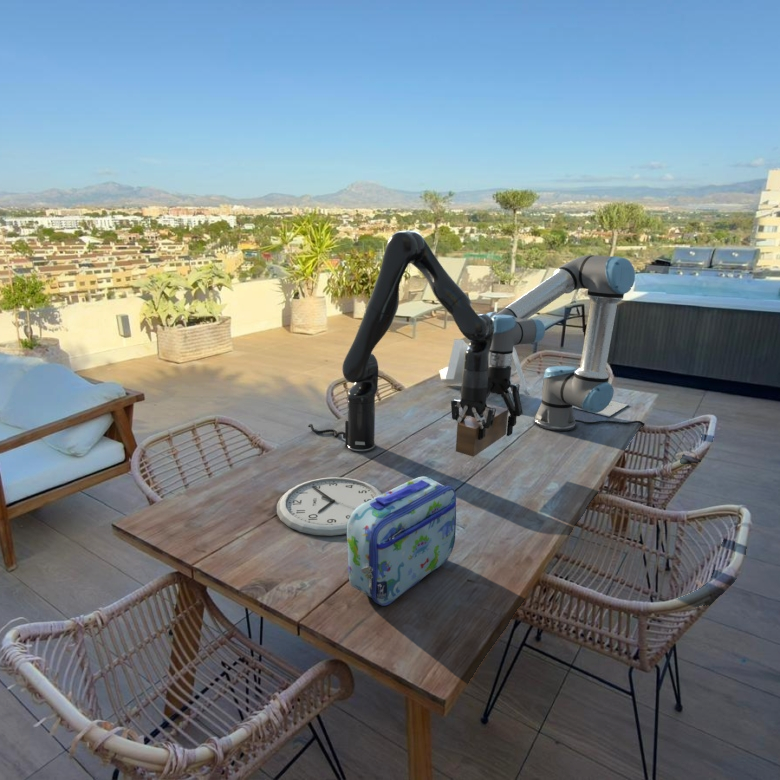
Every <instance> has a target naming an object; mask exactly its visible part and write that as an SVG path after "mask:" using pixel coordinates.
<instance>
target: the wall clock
mask: <svg viewBox="0 0 780 780" xmlns="http://www.w3.org/2000/svg"><path fill="white" fill-rule="evenodd" d="M381 494H384V492H382V491H381V490H380V489H379V488H377V487H376V486H374V485H372V484H371V483H369V482H365V481H362V480H359V479H355V478H349V477H338V476H337V477H335V476H333V477H332V476H331V477H322V478H317V479H312V480H307V481H305V482H302V483H299V484H297V485H295V486H293V487H292V488H290V489H288V490H287V491H286V492H285V493H284V494H283V495H281V496H280V498H279V499H278V502H277V503H276V515H277V517H278V518H279V520H280V521H281V522H282V523H283V524H285V525H286V526H287V527H288V528H290V529H293V530H295V531H297V532H299V533H303V534H308V535H312V536H327V537H328V536H329V537H331V536H332V537H333V536H342V535H347V525H348V521H349V518H350V516H351V514H352V513H353V511H354V510H355V509H356V508H357V507H358V506H360V505H362V504H363V503H365V502H368V501H370V500H372V499H374V498H376V497H378V496H380V495H381Z"/></svg>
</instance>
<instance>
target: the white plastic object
mask: <svg viewBox="0 0 780 780" xmlns="http://www.w3.org/2000/svg"><path fill="white" fill-rule="evenodd" d="M493 312H496V313H497V311H496V310H495V311H493ZM468 346H469V344H468V343H466V342H465V340H464V339H463V338H460V339H458V338H454V340H453V344H452V349H451V353H450V357H449V362H448V366H446V367H444V368H442V369H440V370H439V371H438V372H439V376H440V381H442V383H443V384H444V385H445V386H449V385H458V384H462V374H463V369H464V355H465V351H466V350H467V348H468ZM512 361H513V363H514V366H515V369H516V372H517V376H518V380H519V382H520V386H521V389H522V391H523V393H524V395H525V396H526V397H528V396H531V395H530V390H529V388H528V387H529V386H528V384H527V381H526V378H525V375H524V371H523V369H522V368H523V367H522V366H521V362H520V359H519V355H518V352H517V349H516V347H515V345H513V353H512ZM510 382H511V384H514V381H513V378H512V376H511V377H510ZM508 391H509V393H510V394H511V395H512V391H511V388H510V387H509V388H508Z"/></svg>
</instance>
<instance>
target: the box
mask: <svg viewBox="0 0 780 780" xmlns="http://www.w3.org/2000/svg"><path fill="white" fill-rule="evenodd" d="M488 407H490V408H495V409H496V412H495V416H494V421H493V425H492V426H491V427H489V428H486V433H485V437H484V438H483V439H482V440H478V436H479V428H480V427H479V424H478V422H477V421H476V418H474V417H472V416H468V417H466V418H465V420H464V421H462V422H460V423H459V424H458V423H457V425H456V439H455V452H456V453H459V454H463V455H465V456H470V457H476V456H477V455H479V454H480V453H482V452H483V451H484V450H485V449H487V448H489V447H490V446H492V445H493V444H494V443H496V442H497V441H499V440H501V438H503V437H504V436H507V425H508V416H509V410H508V408H507V407H502V406H497V405H494V404H493V405H492V404H491V405H488ZM484 415H485V420H487V414H486V410H485V411H484Z"/></svg>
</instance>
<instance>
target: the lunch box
mask: <svg viewBox="0 0 780 780" xmlns="http://www.w3.org/2000/svg"><path fill="white" fill-rule="evenodd" d="M456 524H457V494H456V490H455V488H454V487H453V486H451V485H444V484H441V483H440V482H438V481H436V480H434V479H432V478H431V477H428V476H422V475H421V476H419V477H416V478H413V479H411V480H408V481H407V482H404V483H402V484H400V485H398V486H396V487H394V488H392V489H390V490H388V491H386V492H383V494H381V495H380V496H378V497H376V498H374V499H372V500H370V501H368V502H365V503H363V504H362V505H360V506H358V507H357V508H356V509H355V510H354V511H353V513H352V514H351V516H350V518H349V521H348V525H347V534H346V545H347V546H346V548H347V570H348V572H347V573H348V581H349V583H350V585H351V587H353V588H354V589H356V590H358V591H361V592H362V593H364V594H365V595H366V596H368V597H369V598H371V599H372V601H373V602H374V603H375V604H378V605H379V606H383V607H386V606H388V605H390V604H392V603H394V601H396V600H397V599H398V598H399V597H400V596H402V595H403V594H404V593H406V592H407V591H408V590H410V589H411V588H413V587H414V586H415V585H417V584H418V583H419V582H421V580H422V579H424V577H426V576H427V575H430V573H432V572H434V571H435V570H436V569H438V568H440V567H441V566H442V565H444V563H446V562H447V561H448V559H449V558H450V556H451V554H452V552H453V549H454V546H455V542H456V529H457V525H456Z"/></svg>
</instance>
